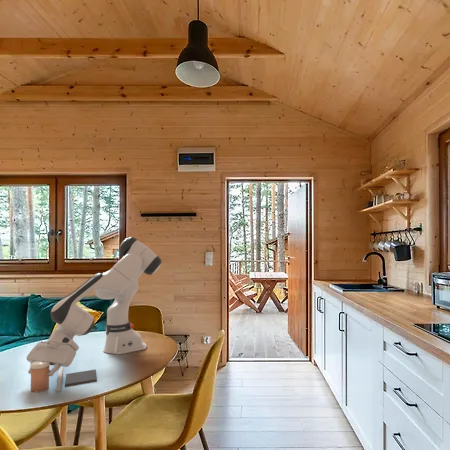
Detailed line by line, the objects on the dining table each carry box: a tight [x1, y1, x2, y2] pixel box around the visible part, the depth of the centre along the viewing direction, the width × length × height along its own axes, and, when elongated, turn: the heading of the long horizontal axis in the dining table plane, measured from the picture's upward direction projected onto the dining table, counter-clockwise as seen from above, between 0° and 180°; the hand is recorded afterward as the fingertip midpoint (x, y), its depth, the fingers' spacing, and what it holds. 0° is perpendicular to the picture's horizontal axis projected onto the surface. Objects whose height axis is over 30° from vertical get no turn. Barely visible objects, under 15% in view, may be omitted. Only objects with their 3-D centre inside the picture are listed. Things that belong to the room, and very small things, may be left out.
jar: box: [29, 361, 51, 393], centre depth 130 cm, size 7×7×10 cm
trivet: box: [64, 369, 98, 387], centre depth 139 cm, size 12×12×1 cm
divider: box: [55, 366, 64, 392], centre depth 134 cm, size 2×16×4 cm, turn 23°
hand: (39, 374), depth 130 cm, fingers open, 8 cm apart
